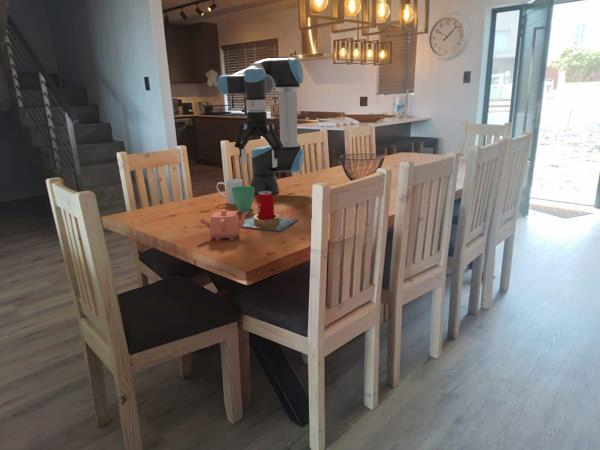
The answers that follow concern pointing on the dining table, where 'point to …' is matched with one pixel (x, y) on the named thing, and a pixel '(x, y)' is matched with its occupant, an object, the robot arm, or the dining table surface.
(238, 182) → the mug
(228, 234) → the teapot
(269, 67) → the robot arm
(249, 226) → the grey can holder
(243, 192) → the mug
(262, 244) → the dining table surface
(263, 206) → the beverage can
